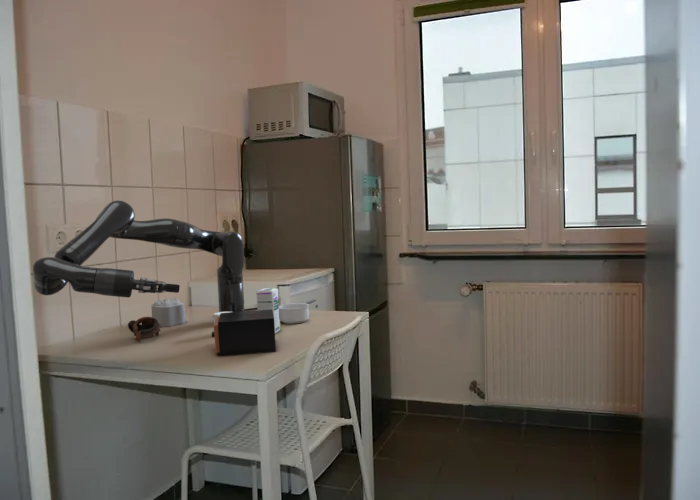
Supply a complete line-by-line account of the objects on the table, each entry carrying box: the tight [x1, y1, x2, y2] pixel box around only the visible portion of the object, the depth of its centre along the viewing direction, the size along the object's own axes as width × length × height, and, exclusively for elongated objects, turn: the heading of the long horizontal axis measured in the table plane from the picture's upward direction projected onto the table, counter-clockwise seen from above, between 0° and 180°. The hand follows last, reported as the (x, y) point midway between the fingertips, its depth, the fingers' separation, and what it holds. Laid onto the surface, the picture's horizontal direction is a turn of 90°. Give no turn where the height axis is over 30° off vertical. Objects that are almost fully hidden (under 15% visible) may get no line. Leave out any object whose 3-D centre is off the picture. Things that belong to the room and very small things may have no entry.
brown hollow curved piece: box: [127, 316, 162, 343], centre depth 183 cm, size 12×10×8 cm
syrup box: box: [255, 287, 282, 335], centre depth 186 cm, size 6×6×14 cm
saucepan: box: [279, 299, 317, 325], centre depth 206 cm, size 12×20×6 cm, turn 150°
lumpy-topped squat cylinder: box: [150, 298, 186, 328], centre depth 208 cm, size 10×13×9 cm
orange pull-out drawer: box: [211, 317, 220, 354], centre depth 166 cm, size 16×13×8 cm
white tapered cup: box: [212, 311, 230, 325], centre depth 186 cm, size 7×7×7 cm
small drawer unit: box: [218, 309, 277, 357], centre depth 166 cm, size 16×14×10 cm
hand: (179, 288), depth 159 cm, fingers closed
